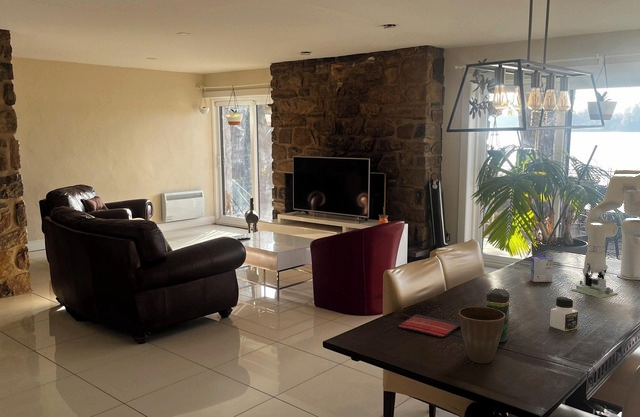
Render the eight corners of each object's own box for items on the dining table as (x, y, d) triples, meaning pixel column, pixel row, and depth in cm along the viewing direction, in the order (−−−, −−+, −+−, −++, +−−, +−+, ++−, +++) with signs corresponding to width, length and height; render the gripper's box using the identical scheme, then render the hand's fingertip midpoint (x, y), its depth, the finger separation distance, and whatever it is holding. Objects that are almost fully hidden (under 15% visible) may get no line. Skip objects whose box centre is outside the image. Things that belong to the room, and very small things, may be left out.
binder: (415, 313, 232) (462, 323, 219) (415, 318, 233) (462, 329, 220) (395, 324, 220) (443, 336, 207) (395, 330, 221) (443, 342, 207)
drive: (589, 287, 273) (589, 275, 272) (605, 291, 265) (606, 279, 264) (583, 288, 271) (583, 276, 270) (599, 292, 263) (600, 280, 262)
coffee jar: (505, 344, 201) (506, 294, 198) (482, 341, 204) (484, 291, 202) (510, 336, 209) (511, 288, 207) (488, 333, 213) (489, 285, 211)
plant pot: (511, 367, 181) (512, 319, 179) (466, 369, 180) (467, 321, 178) (493, 350, 195) (494, 305, 194) (451, 352, 194) (452, 307, 192)
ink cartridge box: (548, 279, 293) (549, 252, 292) (552, 282, 288) (554, 254, 286) (529, 279, 294) (530, 252, 292) (533, 282, 288) (534, 254, 286)
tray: (587, 286, 278) (588, 279, 277) (617, 294, 263) (618, 286, 263) (571, 290, 272) (571, 282, 272) (600, 298, 258) (601, 289, 258)
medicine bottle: (565, 331, 214) (566, 301, 212) (549, 326, 220) (550, 296, 218) (577, 328, 217) (578, 298, 215) (562, 323, 223) (563, 294, 222)
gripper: (601, 245, 273) (599, 280, 275) (576, 249, 265) (575, 285, 267) (615, 248, 266) (613, 284, 268) (590, 252, 258) (589, 288, 260)
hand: (594, 284), depth 267 cm, fingers open, 8 cm apart
